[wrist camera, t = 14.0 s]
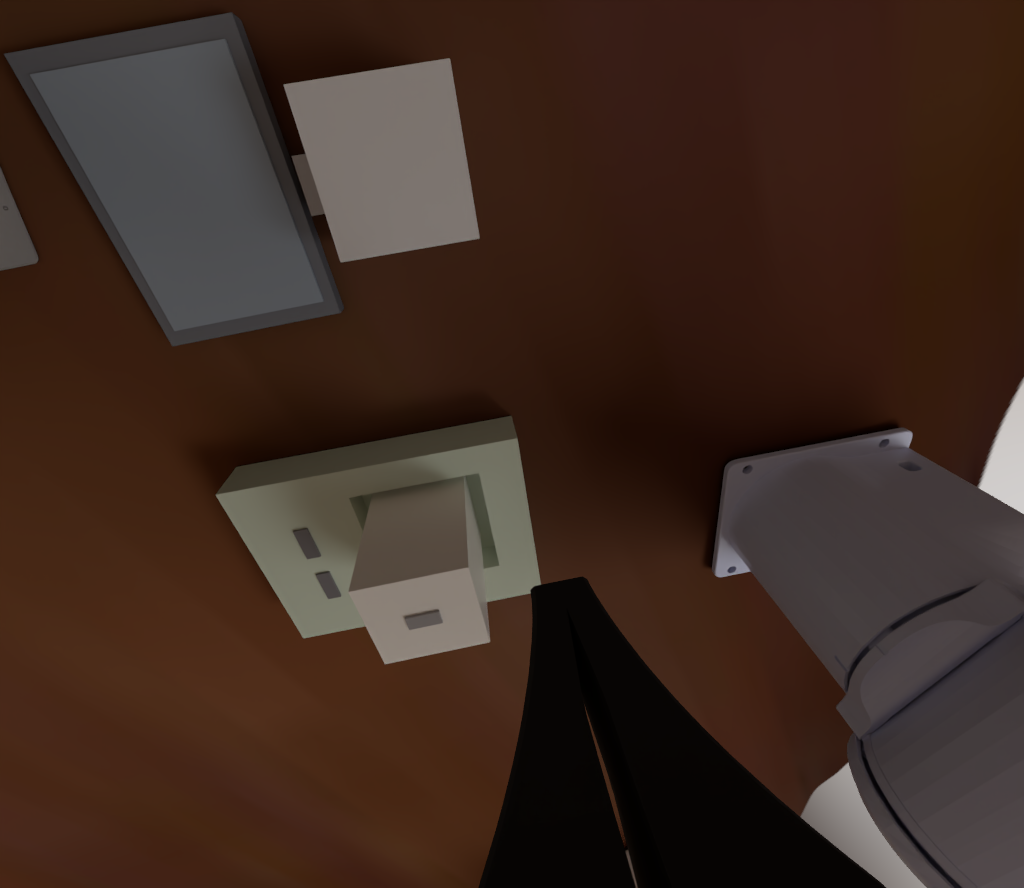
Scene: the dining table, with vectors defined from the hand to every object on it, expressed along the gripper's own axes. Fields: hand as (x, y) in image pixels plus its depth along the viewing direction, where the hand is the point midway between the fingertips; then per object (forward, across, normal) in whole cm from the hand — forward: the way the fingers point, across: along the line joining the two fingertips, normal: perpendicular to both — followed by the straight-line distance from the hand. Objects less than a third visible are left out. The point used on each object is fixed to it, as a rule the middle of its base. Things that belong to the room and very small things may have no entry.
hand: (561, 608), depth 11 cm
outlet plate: (+10, +6, +4) cm, 12 cm away
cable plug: (+10, +2, -10) cm, 14 cm away
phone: (+10, +8, -10) cm, 17 cm away
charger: (+9, +4, +3) cm, 11 cm away
